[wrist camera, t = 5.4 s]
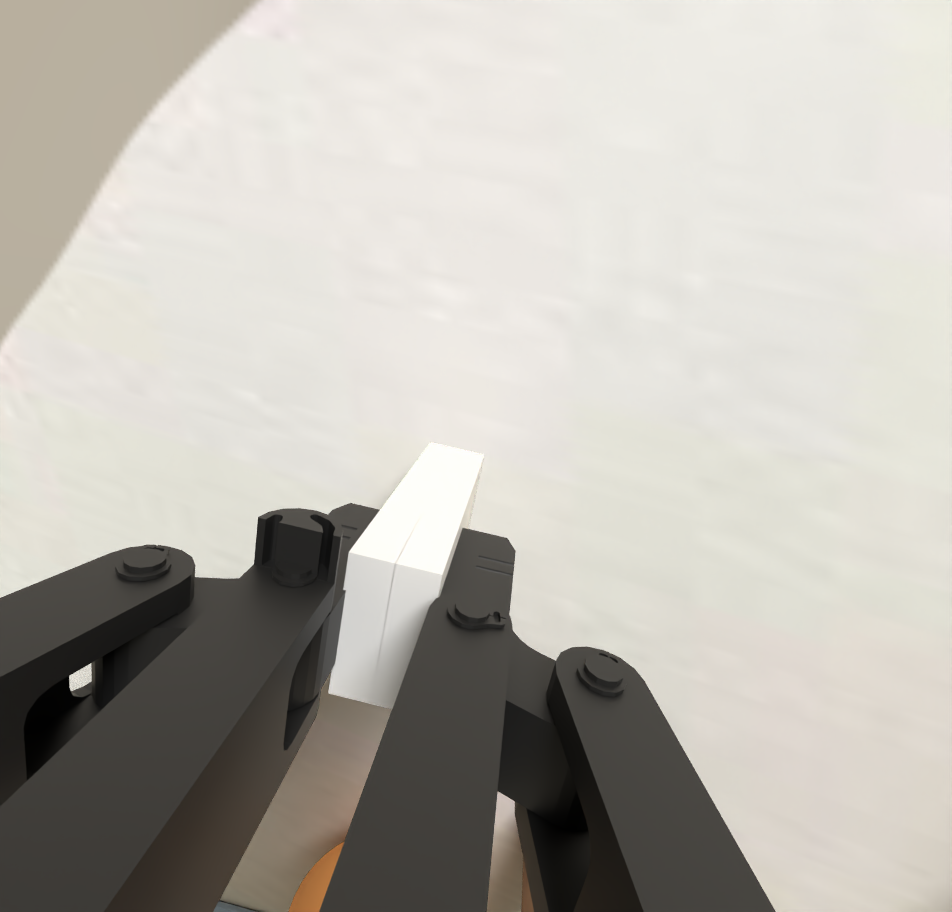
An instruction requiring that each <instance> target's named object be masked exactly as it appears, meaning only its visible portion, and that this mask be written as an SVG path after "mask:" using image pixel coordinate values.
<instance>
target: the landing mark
mask: <svg viewBox="0 0 952 912" xmlns="http://www.w3.org/2000/svg"><path fill="white" fill-rule="evenodd" d="M213 912H256V911H253V910H249V909H246V908H242V907H238V906H235V905H231V904H227V903H224V902H220V901H219V902H218V903H217V905H216V907H215V909H214V911H213Z"/></svg>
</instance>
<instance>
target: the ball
mask: <svg viewBox="0 0 952 912" xmlns="http://www.w3.org/2000/svg"><path fill="white" fill-rule="evenodd" d="M343 844H344V842H343V843H341V844H339V845H338V846H336V847H334V848H333V849H332V850H330V851H329V852H328V853H326V854H325V855H324V856H323V857H322V858H321V859H320V860H319V861H318V862H317V863H316V864H315V865H314V866H313V867H312V869H311V870H310V871H309V872H308V874H307V875H306V877H305V878H304V880H303V881H302V883H301V884H300V886H299V888H298V890H297V892H296V894H295V896H294V898H293V901H292V903H291V906H290V908H289V912H319V910H320V908H321V905H322V902H323V899H324V897H325V894H326V891H327V888H328V886H329V883H330V880H331V877H332V874H333V872H334V869H335V866H336V863H337V861H338V858H339V855H340V852H341V850H342V847H343Z"/></svg>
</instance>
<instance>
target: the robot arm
mask: <svg viewBox="0 0 952 912" xmlns="http://www.w3.org/2000/svg"><path fill="white" fill-rule="evenodd" d="M484 455H485V454H481V453H476V452H472V451H468V450H463V449H459V448H454V447H450V446H446V445H441V444H437V443H433V442H430V443H429V445H428V446H427V447H426V449H425V450H424V451H423V453H422V454H421V455H420V457H419V458H418V459H417V461H416V462H415V463H414V465H413V466H412V467H411V469H410V470H409V472H408V473H407V474H406V476H405V477H404V478H403V480H402V481H401V482H400V484H399V485H398V486H397V488H396V489H395V490H394V492H393V493H392V494H391V496H390V497H389V499H388V500H387V501H386V503H385V504H384V505H383V507H382V508H381V509H380V510H378V509H374V508H369V507H365V506H361V505H357V504H352V503H349V504H347V505H344V506H342V507H339V508H336V509H334V510H332V511H331V512H330V513H329V515H327V514H324V513H321V512H318V511H314V510H307V509H300V508H298V509H280V510H276V511H271V512H268V513H266V514H264V515H262V516H260V517H258V525H257V537H256V548H255V560H254V565H253V566H252V567H251V568H250V569H249V570H248V571H247V572H246V573H244V574H243V575H242V576H241V577H240V578H239V579H220V578H198V577H195V564H194V561H193V559H192V557H191V556H190V555H188V554H187V553H185V552H184V551H182V550H179V549H175V548H171V547H168V546H161V545H158V546H156V545H144V546H138V547H129V548H126V549H122V550H119V551H116V552H112V553H110V554H107V555H105V556H102V557H100V558H97V559H95V560H92V561H90V562H87V563H85V564H83V565H80V566H78V567H75V568H73V569H70V570H68V571H65V572H63V573H60V574H58V575H56V576H53V577H51V578H48V579H46V580H43V581H41V582H38V583H36V584H33V585H31V586H29V587H26V588H24V589H21V590H19V591H16V592H14V593H11V594H9V595H6V596H4V597H2V598H0V912H213V911H214V909H215V907H216V905H217V903H218V902H219V900H220V898H221V896H222V894H223V892H224V890H225V888H226V886H227V884H228V883H229V881H230V879H231V877H232V875H233V873H234V871H235V869H236V867H237V866H238V864H239V862H240V860H241V858H242V856H243V854H244V852H245V850H246V848H247V847H248V845H249V843H250V841H251V839H252V837H253V835H254V833H255V831H256V829H257V828H258V826H259V824H260V822H261V820H262V818H263V816H264V814H265V812H266V810H267V809H268V807H269V805H270V803H271V801H272V799H273V797H274V795H275V793H276V792H277V790H278V788H279V786H280V784H281V782H282V780H283V778H284V776H285V774H286V773H287V771H288V769H289V767H290V765H291V763H292V761H293V759H294V757H295V755H296V754H297V752H298V750H299V748H300V746H301V744H302V742H303V740H304V738H305V736H306V735H307V733H308V731H309V729H310V727H311V725H312V723H313V721H314V719H315V717H316V715H317V711H318V707H319V701H320V693H321V688H322V686H323V684H324V683H325V681H326V679H327V677H328V675H329V674H330V672H331V678H330V685H329V691H328V693H329V694H333V695H337V696H341V697H345V698H349V699H353V700H357V701H360V702H364V703H368V704H372V705H376V706H380V707H384V708H388V709H392V711H391V714H390V717H389V720H388V722H387V725H386V728H385V731H384V733H383V736H382V739H381V742H380V745H379V747H378V750H377V753H376V756H375V758H374V761H373V764H372V767H371V769H370V772H369V775H368V778H367V780H366V783H365V786H364V789H363V792H362V794H361V797H360V800H359V803H358V805H357V808H356V811H355V814H354V816H353V819H352V822H351V825H350V827H349V830H348V833H347V836H346V839H345V841H344V844H343V847H342V850H341V852H340V855H339V858H338V861H337V863H336V866H335V869H334V872H333V874H332V877H331V880H330V883H329V886H328V888H327V891H326V894H325V897H324V899H323V902H322V905H321V908H320V910H319V912H486V910H487V899H488V888H489V877H490V866H491V855H492V844H493V834H494V823H495V812H496V801H497V791H499V792H500V793H502V794H504V795H505V796H507V797H509V798H510V799H512V800H514V801H515V817H516V822H517V827H518V832H519V838H520V843H521V848H522V853H523V858H524V863H525V868H526V873H527V878H528V883H529V888H530V894H531V899H532V904H533V909H534V912H775V910H774V908H773V906H772V905H771V903H770V901H769V899H768V897H767V896H766V894H765V892H764V890H763V889H762V887H761V885H760V883H759V882H758V880H757V878H756V876H755V875H754V873H753V871H752V869H751V868H750V866H749V864H748V862H747V861H746V859H745V857H744V855H743V854H742V852H741V850H740V848H739V847H738V845H737V843H736V841H735V839H734V838H733V836H732V834H731V832H730V831H729V829H728V827H727V825H726V824H725V822H724V820H723V818H722V817H721V815H720V813H719V811H718V810H717V808H716V806H715V804H714V803H713V801H712V799H711V797H710V796H709V794H708V792H707V790H706V788H705V787H704V785H703V783H702V781H701V780H700V778H699V776H698V774H697V773H696V771H695V769H694V767H693V766H692V764H691V762H690V760H689V759H688V757H687V755H686V753H685V752H684V750H683V748H682V746H681V745H680V743H679V741H678V739H677V738H676V736H675V734H674V732H673V730H672V729H671V727H670V725H669V723H668V722H667V720H666V718H665V716H664V715H663V713H662V711H661V709H660V708H659V706H658V704H657V702H656V701H655V699H654V697H653V695H652V694H651V692H650V690H649V688H648V687H647V685H646V683H645V681H644V680H643V679H642V678H641V676H640V675H639V674H638V673H637V671H636V670H635V669H634V668H633V667H632V666H630V665H629V664H627V663H626V662H625V661H623V660H622V659H621V658H619V657H617V656H615V655H613V654H610V653H609V652H606V651H604V650H600V649H595V648H591V647H572V648H570V649H567V650H565V651H563V652H561V653H560V655H559V657H558V658H557V660H556V661H555V660H553V659H551V658H549V657H547V656H545V655H542V654H540V653H539V652H537V651H535V650H534V649H532V648H530V647H529V646H527V645H526V644H525V643H524V642H522V641H521V640H520V639H519V638H518V636H517V635H516V634H515V633H514V632H513V630H512V622H511V618H510V616H509V611H510V601H511V591H512V581H513V571H514V561H515V550H514V548H513V546H512V545H511V543H510V542H509V540H508V539H507V538H504V537H500V536H496V535H491V534H487V533H483V532H479V531H474V530H470V529H469V524H470V520H471V515H472V510H473V506H474V501H475V497H476V492H477V487H478V483H479V478H480V473H481V469H482V464H483V460H484ZM90 663H92V682H90V683H88V684H87V685H85V686H84V687H81V688H79V689H76V690H74V691H70V688H69V675H71V674H73V673H75V672H76V671H78V670H80V669H81V668H83V667H85V666H87V665H88V664H90ZM331 670H332V671H331Z"/></svg>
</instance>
